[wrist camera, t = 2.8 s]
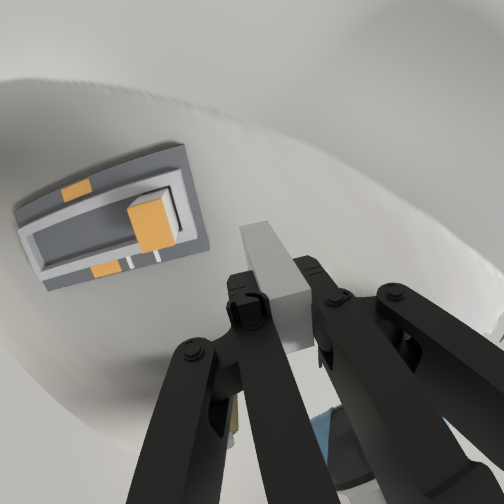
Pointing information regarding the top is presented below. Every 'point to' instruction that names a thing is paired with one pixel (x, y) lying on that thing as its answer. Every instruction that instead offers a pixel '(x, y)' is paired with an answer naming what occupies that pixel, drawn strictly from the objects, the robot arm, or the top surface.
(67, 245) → the console board
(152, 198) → the fader tab
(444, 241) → the top surface
